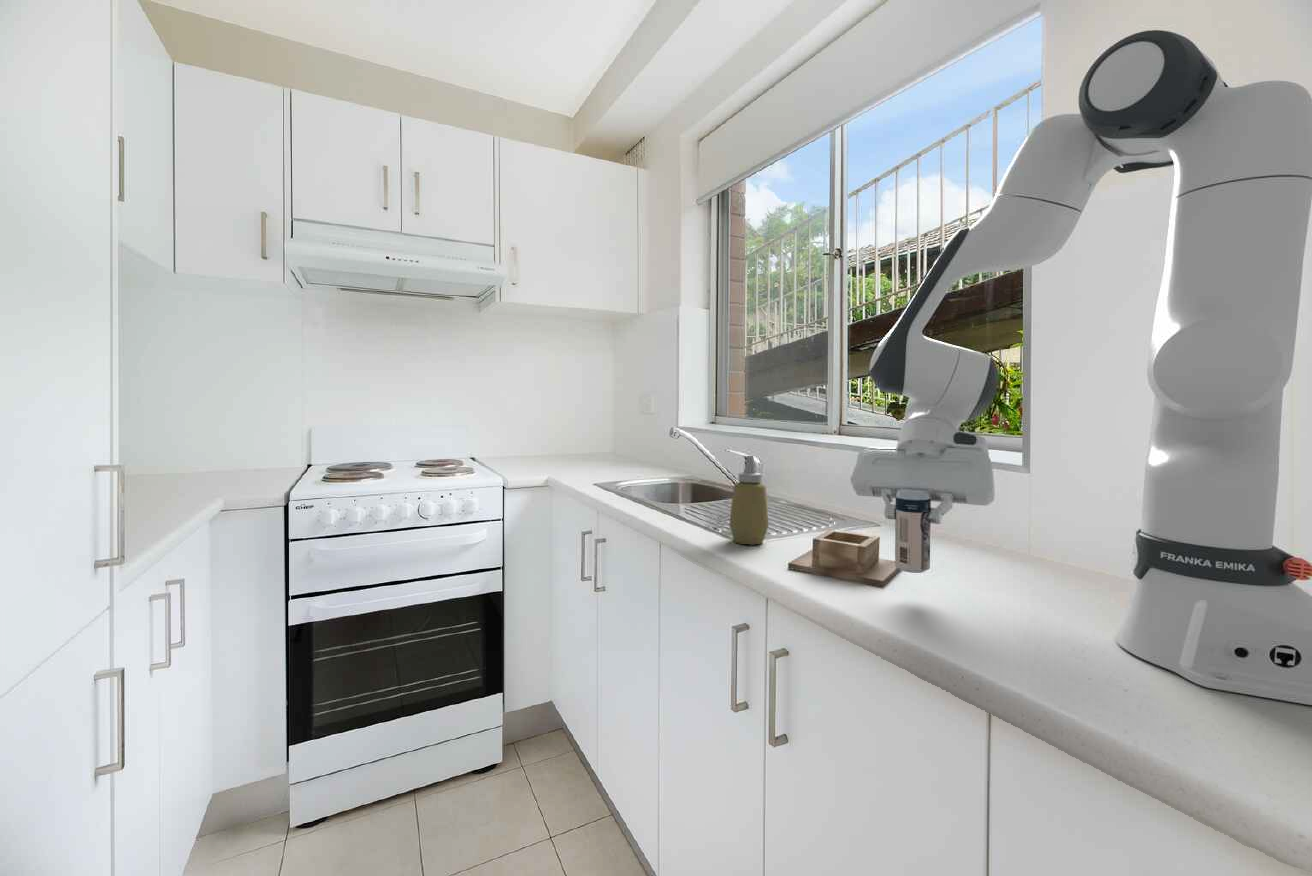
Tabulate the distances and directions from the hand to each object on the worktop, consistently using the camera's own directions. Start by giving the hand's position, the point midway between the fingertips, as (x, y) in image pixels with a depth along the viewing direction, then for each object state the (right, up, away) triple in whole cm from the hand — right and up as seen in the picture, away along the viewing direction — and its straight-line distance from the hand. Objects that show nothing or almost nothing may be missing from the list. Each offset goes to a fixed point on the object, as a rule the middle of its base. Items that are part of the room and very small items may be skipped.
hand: (911, 519), depth 85 cm
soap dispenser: (-19, -10, +34) cm, 40 cm away
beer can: (0, -8, +1) cm, 8 cm away
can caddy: (-5, -11, +16) cm, 20 cm away
